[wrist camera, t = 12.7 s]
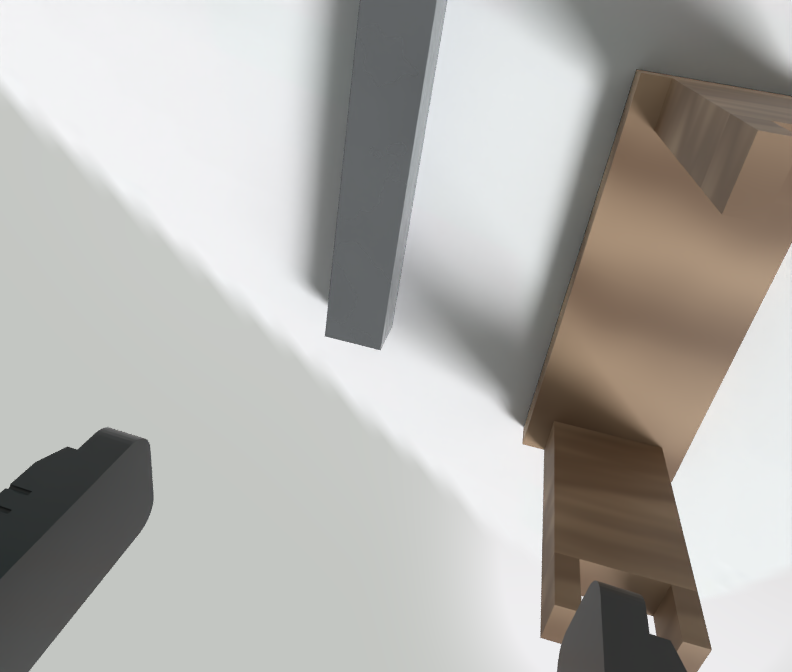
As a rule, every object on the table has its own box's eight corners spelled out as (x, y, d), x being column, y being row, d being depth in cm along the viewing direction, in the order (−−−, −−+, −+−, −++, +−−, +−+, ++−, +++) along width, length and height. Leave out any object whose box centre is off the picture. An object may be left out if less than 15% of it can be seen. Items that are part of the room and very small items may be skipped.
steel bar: (394, -130, 24) (375, -146, 21) (468, -119, 24) (458, -134, 21) (342, 311, 34) (324, 336, 31) (393, 323, 34) (380, 350, 31)
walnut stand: (636, 69, 25) (703, 120, 14) (841, 104, 24) (1091, 190, 13) (523, 427, 35) (509, 628, 23) (667, 464, 34) (723, 691, 22)
